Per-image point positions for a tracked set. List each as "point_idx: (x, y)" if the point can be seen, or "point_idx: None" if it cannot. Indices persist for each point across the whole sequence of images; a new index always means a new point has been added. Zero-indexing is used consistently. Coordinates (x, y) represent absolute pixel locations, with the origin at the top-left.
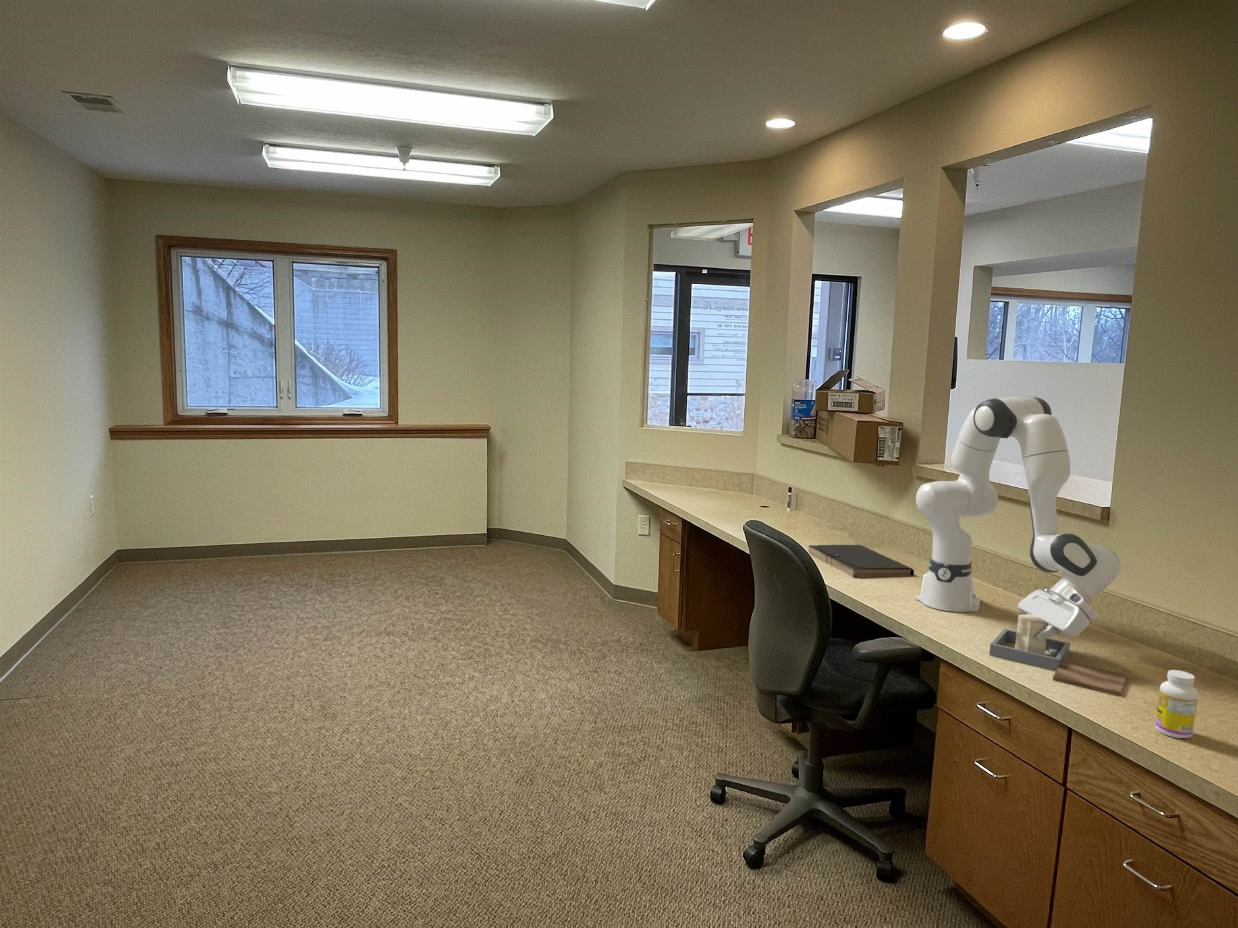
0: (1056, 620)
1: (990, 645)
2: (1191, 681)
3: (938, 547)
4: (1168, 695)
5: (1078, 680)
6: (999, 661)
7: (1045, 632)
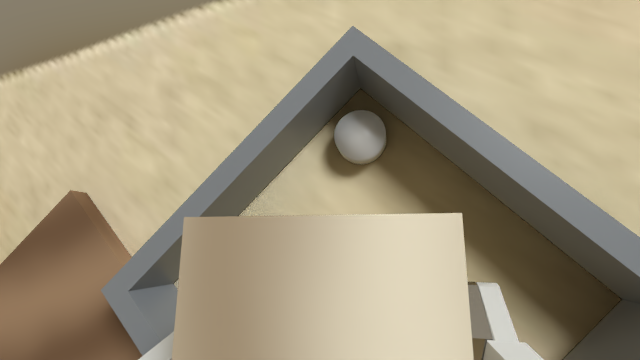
0: None
1: (353, 33)
2: None
3: None
4: None
5: (15, 271)
6: (281, 74)
7: (166, 346)
